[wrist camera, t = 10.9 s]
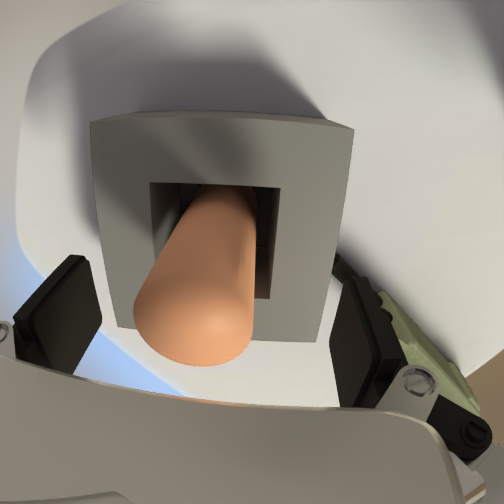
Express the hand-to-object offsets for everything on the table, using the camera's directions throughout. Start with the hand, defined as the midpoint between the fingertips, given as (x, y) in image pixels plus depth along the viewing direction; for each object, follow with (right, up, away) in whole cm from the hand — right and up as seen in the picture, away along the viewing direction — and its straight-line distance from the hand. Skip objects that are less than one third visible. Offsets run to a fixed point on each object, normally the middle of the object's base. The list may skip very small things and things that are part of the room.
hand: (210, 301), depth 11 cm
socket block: (0, +5, +10) cm, 11 cm away
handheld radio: (+16, -6, +15) cm, 23 cm away
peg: (0, +5, +10) cm, 11 cm away
